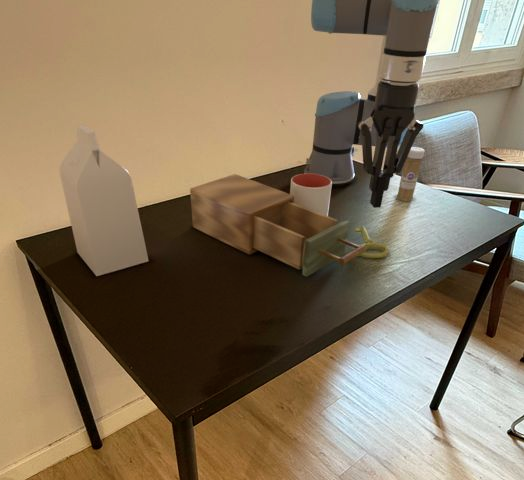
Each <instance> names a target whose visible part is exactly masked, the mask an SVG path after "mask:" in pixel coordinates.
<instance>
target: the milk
mask: <svg viewBox="0 0 524 480" xmlns="http://www.w3.org/2000/svg"><path fill="white" fill-rule="evenodd" d="M76 136H77V140H76V141H75V143H74V144H73V145H72V147H71V148H70V149H69V151H68V152H67V154H66V155H65V156H64V158H63V159H62V161H61V162H60V165H59V176H60V179H61V186H62V189H63V193H64V198H65V202H66V207H67V211H68V216H69V221H70V225H71V229H72V235H73V239H74V242H75V243H74V244H75V248H76V253H77V254H78V255H79V257H80V258H81V259H82V260H83V261H84V263H85V264H86V265H87V266H88V268H89V269H90V270H91V271H92V273H93V274H94V275H95V276H96V277H99V276H102V275H105V274H110V273H114V272H116V271H117V272H118V271H120V270H124V269H127V268H130V267H134V266H138V265H140V264H144V263H147V262H150V260H149V257H148V251H147V247H146V241H145V237H144V232H143V227H142V222H141V219H140V213H139V209H138V208H139V207H138V204H137V198H136V194H135V190H134V185H133V180H132V176H131V174H130V173H129V171H128V169H126V168H124V167H123V166H122V165H121V164H119V163H117V162H116V161H115V160H114V159H113V158H111V157H110V156H109V155H107V154H106V153H104V152H103V151H102V150H101V149H100V146H99V145H100V144H99V142H98V138H97V135H96V132H95V131H94V130H93V129H91V128H89V127H88V126H86V125H85V124H78V125H76Z"/></svg>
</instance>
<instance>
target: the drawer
mask: <svg viewBox="0 0 524 480" xmlns="http://www.w3.org/2000/svg"><path fill="white" fill-rule="evenodd" d="M252 217H253V218H252V248H255V249H257V250H259V251H258V252H261V253H263V254H265V255H267V256H269V257H272V258H274V259H276V260H278V261H280V262H282V263H284V264H286V265H288V266H291V267H293V268H294V269H297V270H299V271H301V270H302V271H301V272H302V273H301V275H302V276H304V277H306V278H307V277H308V276H310V275H312V274H314V273H315V272H317V271H319V270H321V269H322V268H324V267H325V266H328V265H329V264H331V263H333V262H335V261H337V262H338V264H339V265H340V266H344V265H345V264H347V263H349V262H350V261H352V260H353V259H356V258H357V257H360V256H359V255H360V254H362V253H364V252H365V253H366V252H367V250H368V249H367V247H366V246H365V245H362V246H359V245H360V244H357V243H354V242H351V241H349V240H347V239H348V233H349V227H350V221H348V220H346V219H344V220H342V221H340V222H339V221H338V219H337V218H334V217H331V216H329V215H328V216H326V215H323V214H321V213H318V212H315V211H313V210H310V209H307V208H305V207H302V206H299V205H297V204H294V203H292V202H289V201H288V202H286V203H284V204H281V205H279V206H276V207H274V208H272V209H269V210H267V211H264V212H262V213H260V214H257V215H255V216H252ZM346 245H347V246H349V247H352V248H354V249H353V250H352V251H350V252H348V253H346V254H345V252H346Z"/></svg>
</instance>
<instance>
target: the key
mask: <svg viewBox="0 0 524 480" xmlns="http://www.w3.org/2000/svg"><path fill="white" fill-rule="evenodd" d="M353 230H354V233H361V235H362V237H363V240H364V243H361V244H358V245H359V246H362V245H365V246H366V247H367V250H378V251H382V252H379V253H369V252H366V251H365V252H364V253H362V254H360V255H359V256H358V257H361V258H366V259H381V258H385V257H387V256H388V254H389V248H388V246H386V245H385V244H381V243H378V242H375V243H374V240H373V239H371V238H370V236H369V234H368V232H367V230H366V227H365V226H361V227H354V229H353Z"/></svg>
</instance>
